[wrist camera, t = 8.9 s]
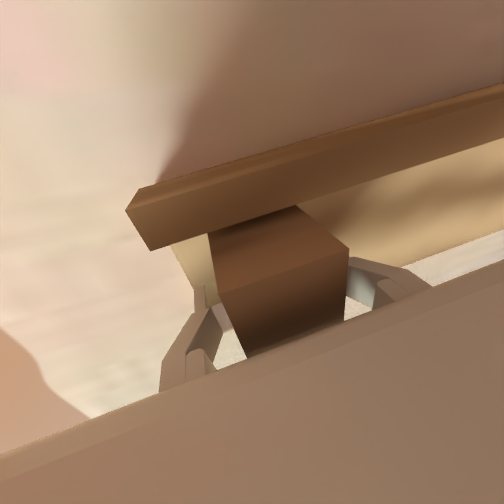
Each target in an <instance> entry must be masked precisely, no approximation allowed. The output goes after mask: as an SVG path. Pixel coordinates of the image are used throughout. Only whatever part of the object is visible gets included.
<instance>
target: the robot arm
mask: <svg viewBox="0 0 504 504" xmlns="http://www.w3.org/2000/svg"><path fill="white" fill-rule="evenodd" d="M346 296H348V297H350V298H352V299H354V300H356V301H358V302H360V303H362V304H364V305H366V306H368V307H370V308H372V311H369V312H367V313H364V314H361V315H359V316H356V317H354V318H351V319H349V320H346V321H343V322H341V323H338V324H336V325H333V326H331V327H328V328H325V329H323V330H320V331H318V332H315V333H312V334H310V335H307V336H305V337H302V338H300V339H297V340H294V341H292V342H289V343H287V344H284V345H282V346H279V347H276V348H274V349H271V350H269V351H266V352H263V353H261V354H258V355H256V356H253V357H250V358H248V359H245V360H243V361H240V362H238V363H235V364H232V365H230V366H227V367H225V368H222V369H219V370H216V368H215V367H214V365H213V364H212V363H213V361H214V358H215V355H216V352H217V349H218V346H219V344H220V341H221V338H222V335H223V332H224V331H227V330H229V329H232V328H233V326H232V324H231V321H230V319H229V317H228V315H227V313H226V310H225V308H224V306H223V304H222V302H221V299H220V297H219V295H218V290H217V284H216V280H215V281H211V282H208V283H205V284H203V285H199V286H196V287H194V308H195V313H193V314H191V316H190V317H189V319H188V320H187V322H186V324H185V325H184V327H183V328H182V330H181V332H180V333H179V335H178V336H177V338H176V340H175V341H174V343H173V344H172V346H171V348H170V349H169V351H168V352H167V354H166V356H165V357H164V359H163V360H162V366H161V376H160V386H159V393H157V394H155V395H152V396H150V397H147V398H145V399H142V400H139V401H137V402H134V403H132V404H129V405H127V406H124V407H121V408H119V409H116V410H114V411H111V412H108V413H106V414H103V415H101V416H98V417H96V418H93V419H90V420H88V421H85V422H83V423H80V424H78V425H75V426H73V427H70V428H67V429H65V430H62V431H60V432H57V433H55V434H52V435H49V436H46V437H44V438H41V439H39V440H36V441H34V442H31V443H29V444H26V445H23V446H21V447H18V448H16V449H13V450H10V451H8V452H5V453H2V454H0V504H504V259H503V260H501V261H498V262H496V263H493V264H491V265H488V266H485V267H483V268H480V269H478V270H475V271H472V272H470V273H467V274H465V275H462V276H460V277H457V278H454V279H452V280H449V281H447V282H444V283H441V284H439V285H436V286H434V287H432V286H431V285H429V284H428V283H426V282H425V281H423V280H422V279H420V278H419V277H418V276H416V275H415V274H413V273H412V272H410V271H409V270H407V269H403V268H399V267H395V266H390V265H386V264H382V263H378V262H374V261H370V260H366V259H362V258H358V257H354V256H353V257H349V261H348V273H347V286H346Z"/></svg>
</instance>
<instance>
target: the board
mask: <svg viewBox="0 0 504 504" xmlns="http://www.w3.org/2000/svg"><path fill="white" fill-rule="evenodd" d="M293 205H296V206H298V207H299V208H300V209H301V210H303V211H304V212H305V213H306V214H307V215H309V216H310V217H311V218H312V219H314V220H315V221H316V222H317V223H319V224H320V225H321V226H322V227H323V228H325V229H326V230H327V231H328V232H330V233H331V234H332V235H333V236H335V237H336V238H337V239H338V240H339V241H341V242H342V243H343V244H344V245H346V246H347V247H348V248H349V257H353V256H354V257H358V258H362V259H366V260H370V261H374V262H378V263H382V264H386V265H390V266H395V267H399V268H400V267H402V266H405V265H408V264H411V263H413V262H416V261H419V260H421V259H424V258H427V257H429V256H432V255H435V254H438V253H440V252H443V251H446V250H448V249H451V248H454V247H456V246H459V245H462V244H464V243H467V242H470V241H473V240H475V239H478V238H481V237H483V236H486V235H489V234H491V233H494V232H497V231H500V230H502V229H504V83H500V84H497V85H493V86H490V87H487V88H483V89H480V90H476V91H473V92H469V93H466V94H463V95H459V96H456V97H452V98H449V99H445V100H442V101H439V102H435V103H432V104H428V105H425V106H421V107H418V108H415V109H411V110H408V111H404V112H401V113H397V114H394V115H391V116H387V117H384V118H380V119H377V120H373V121H370V122H367V123H363V124H360V125H356V126H353V127H349V128H346V129H343V130H339V131H336V132H332V133H329V134H325V135H322V136H319V137H315V138H312V139H308V140H305V141H301V142H298V143H295V144H291V145H288V146H284V147H281V148H277V149H274V150H271V151H267V152H264V153H260V154H257V155H253V156H250V157H247V158H243V159H240V160H236V161H233V162H229V163H226V164H223V165H219V166H216V167H212V168H209V169H205V170H202V171H199V172H195V173H192V174H188V175H185V176H181V177H178V178H175V179H171V180H168V181H164V182H161V183H157V184H154V185H151V186H147V187H144V188H140V189H139V190H138V191H137V193H136V194H135V196H134V197H133V199H132V201H131V202H130V204H129V205H128V207H127V208H126V210H125V211H126V213H127V215H128V216H129V218H130V219H131V221H132V223H133V224H134V226H135V228H136V229H137V231H138V232H139V234H140V236H141V237H142V239H143V240H144V242H145V244H146V245H147V247H148V248H149V250H150V251H153V250H156V249H159V248H162V247H165V246H168V245H170V247H171V249H172V250H173V252H174V254H175V256H176V258H177V260H178V261H179V263H180V265H181V267H182V269H183V271H184V272H185V274H186V276H187V278H188V280H189V282H190V284H191V285H192V287H193V289H194V287H196V286H199V285H203V284H205V283H208V282H211V281H215V280H216V279H215V273H214V268H213V262H212V257H211V251H210V246H209V240H208V235H207V233H209V232H212V231H215V230H218V229H221V228H224V227H228V226H231V225H234V224H237V223H240V222H243V221H246V220H249V219H252V218H256V217H259V216H262V215H265V214H268V213H271V212H274V211H277V210H280V209H284V208H287V207H290V206H293ZM232 329H234V328H232ZM232 329H229V330H227V331H230V330H232ZM227 331H224V332H227ZM224 332H223V333H224Z"/></svg>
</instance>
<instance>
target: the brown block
mask: <svg viewBox="0 0 504 504" xmlns="http://www.w3.org/2000/svg"><path fill="white" fill-rule="evenodd" d="M207 235H208V240H209V246H210V251H211V257H212V262H213V268H214V273H215V279H216V284H217V290H218V295H219V297H220V299H221V302H222V304H223V306H224V308H225V310H226V313H227V315H228V317H229V319H230V321H231V324H232V326H233V328H234V330H235V333H236V335H237V337H238V339H239V341H240V344H241V346H242V348H243V350H244V352H245V355H246V357H247V359H248V358H250V357H253V356H256V355H258V354H261V353H263V352H266V351H269V350H271V349H274V348H276V347H279V346H282V345H284V344H287V343H289V342H292V341H294V340H297V339H300V338H302V337H305V336H307V335H310V334H312V333H315V332H318V331H320V330H323V329H325V328H328V327H331V326H333V325H336V324H338V323H341V322H343V321H344V310H345V298H346V286H347V273H348V261H349V248H348V247H347V246H346V245H344V244H343V243H342V242H341V241H339V240H338V239H337V238H336V237H335V236H333V235H332V234H331V233H330V232H328V231H327V230H326V229H325V228H323V227H322V226H321V225H320V224H319V223H317V222H316V221H315V220H314V219H312V218H311V217H310V216H309V215H307V214H306V213H305V212H304V211H303V210H301V209H300V208H299V207H298V206H296V205H293V206H290V207H287V208H284V209H280V210H277V211H274V212H271V213H268V214H265V215H262V216H259V217H256V218H252V219H249V220H246V221H243V222H240V223H237V224H234V225H231V226H228V227H224V228H221V229H218V230H215V231H212V232H209V233H207Z"/></svg>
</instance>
